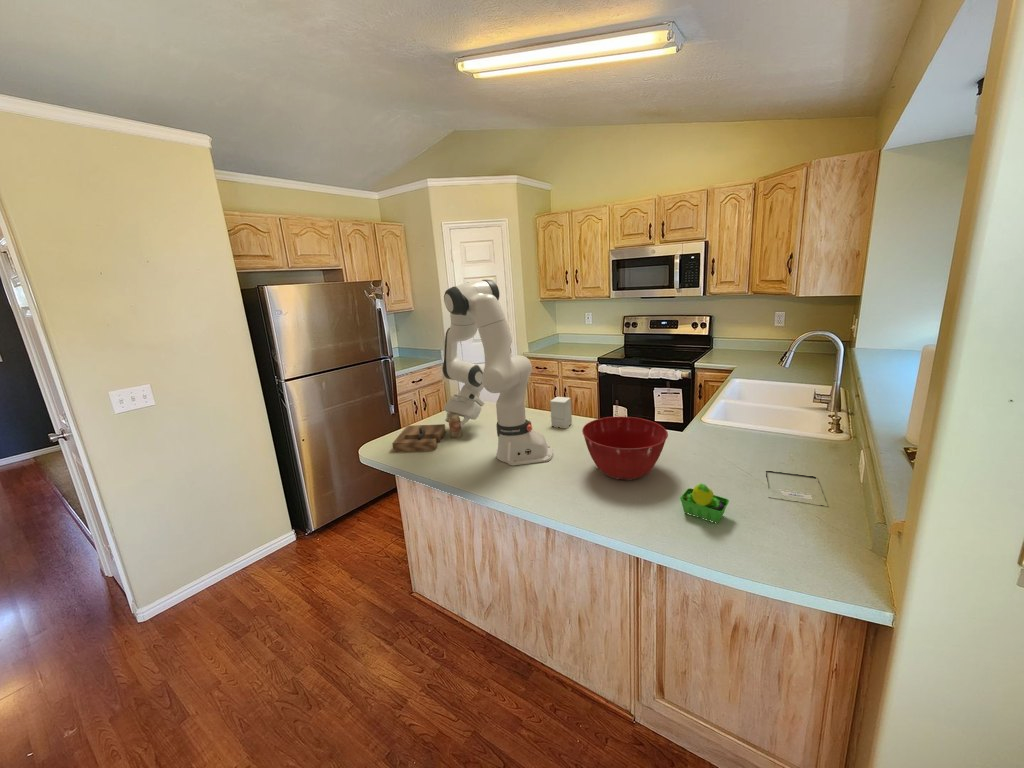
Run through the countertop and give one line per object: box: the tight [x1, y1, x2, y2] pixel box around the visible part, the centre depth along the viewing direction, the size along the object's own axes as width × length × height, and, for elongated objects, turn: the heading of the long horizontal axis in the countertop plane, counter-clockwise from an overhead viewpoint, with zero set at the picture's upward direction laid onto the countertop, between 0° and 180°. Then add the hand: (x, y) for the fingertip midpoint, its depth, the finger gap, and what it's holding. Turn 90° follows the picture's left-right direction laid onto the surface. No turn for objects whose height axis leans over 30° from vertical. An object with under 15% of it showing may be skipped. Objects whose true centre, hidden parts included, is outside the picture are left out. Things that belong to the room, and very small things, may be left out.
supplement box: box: [549, 396, 573, 429], centre depth 193 cm, size 7×7×13 cm
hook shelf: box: [391, 423, 446, 453], centre depth 186 cm, size 18×20×8 cm
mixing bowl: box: [581, 416, 669, 480], centre depth 146 cm, size 28×28×15 cm
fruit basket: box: [679, 483, 730, 524], centre depth 118 cm, size 11×9×11 cm
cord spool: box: [448, 413, 462, 439], centre depth 190 cm, size 5×5×10 cm
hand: (453, 423), depth 189 cm, fingers open, 8 cm apart
